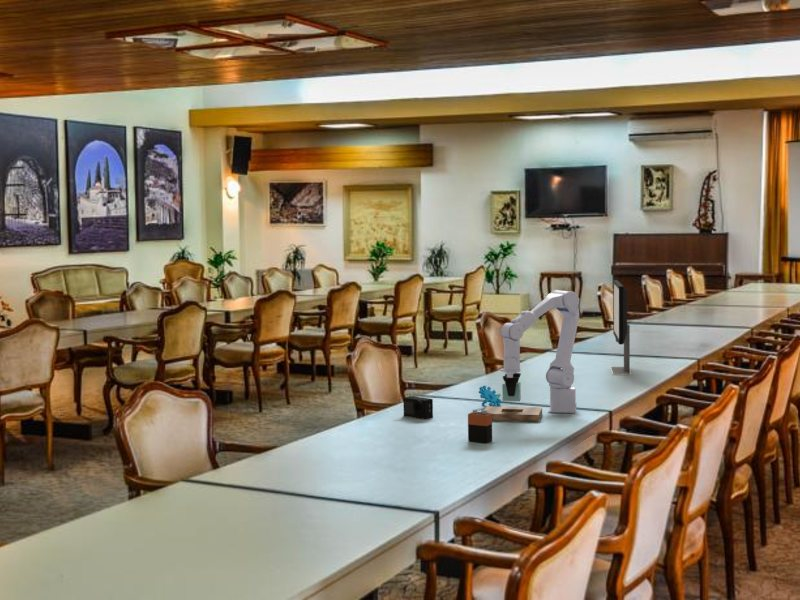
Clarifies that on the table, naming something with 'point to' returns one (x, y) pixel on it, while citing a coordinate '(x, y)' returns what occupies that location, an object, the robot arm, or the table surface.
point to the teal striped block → (511, 398)
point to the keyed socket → (515, 413)
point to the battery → (480, 426)
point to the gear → (489, 396)
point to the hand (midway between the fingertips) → (512, 394)
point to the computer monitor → (621, 326)
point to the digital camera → (418, 407)
